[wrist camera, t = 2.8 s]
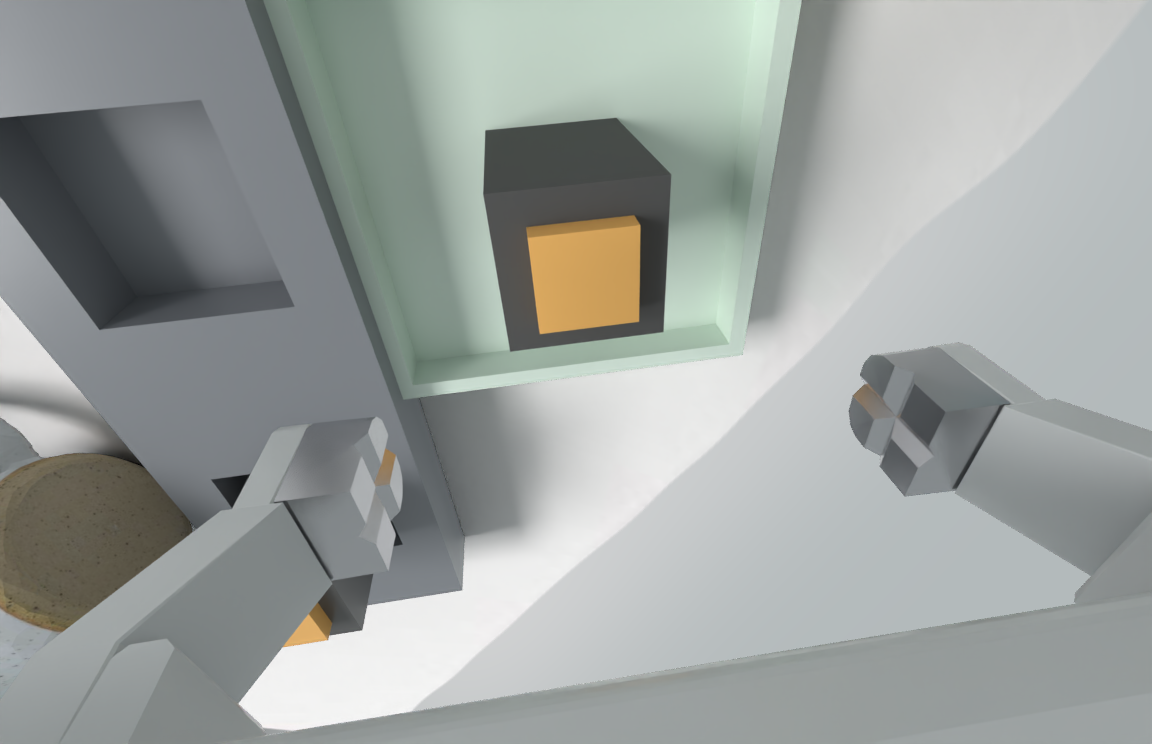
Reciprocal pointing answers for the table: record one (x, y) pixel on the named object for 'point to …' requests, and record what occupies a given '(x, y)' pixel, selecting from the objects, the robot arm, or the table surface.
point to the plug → (576, 232)
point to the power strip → (199, 262)
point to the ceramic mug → (70, 540)
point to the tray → (528, 98)
